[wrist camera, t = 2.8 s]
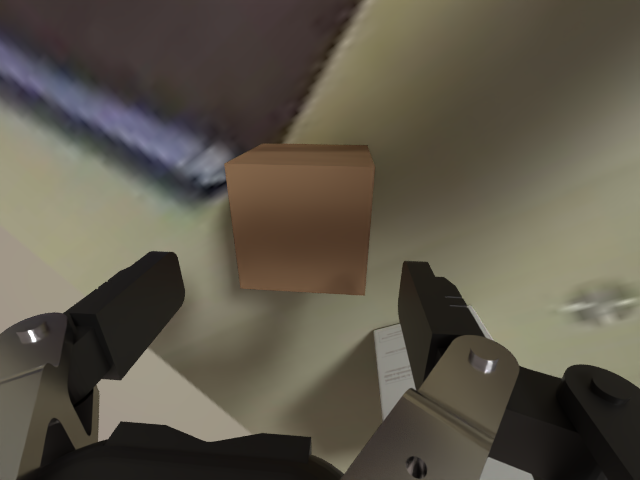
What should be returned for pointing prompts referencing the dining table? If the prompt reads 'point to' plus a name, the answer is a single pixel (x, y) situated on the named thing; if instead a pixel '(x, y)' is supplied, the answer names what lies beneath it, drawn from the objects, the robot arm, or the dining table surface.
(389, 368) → the supplement box
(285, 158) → the walnut block
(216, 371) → the dining table surface
